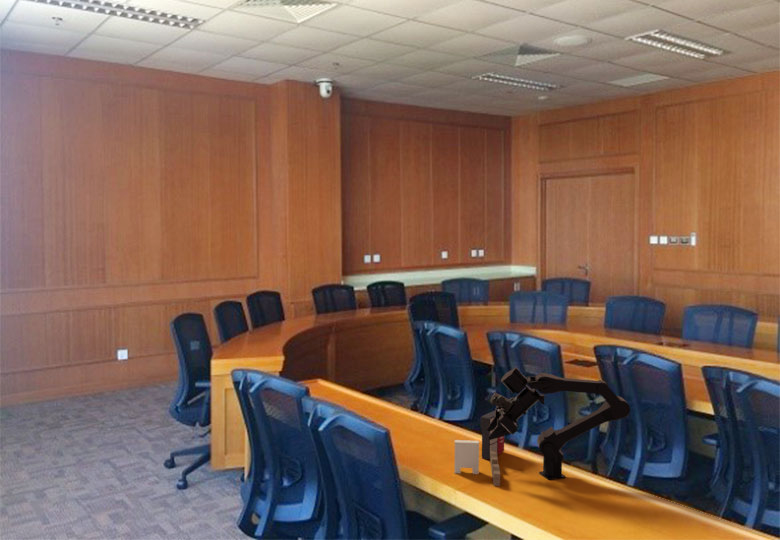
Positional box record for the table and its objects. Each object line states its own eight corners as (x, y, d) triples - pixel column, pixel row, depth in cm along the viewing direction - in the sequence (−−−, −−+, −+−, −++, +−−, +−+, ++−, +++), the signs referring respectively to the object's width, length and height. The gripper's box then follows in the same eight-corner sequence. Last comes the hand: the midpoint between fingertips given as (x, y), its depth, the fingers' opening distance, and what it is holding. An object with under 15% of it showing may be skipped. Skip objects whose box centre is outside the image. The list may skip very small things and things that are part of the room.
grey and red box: (490, 460, 234) (491, 418, 233) (480, 458, 237) (480, 416, 236) (505, 452, 243) (505, 411, 242) (494, 449, 245) (495, 410, 245)
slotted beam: (490, 461, 233) (490, 450, 232) (496, 462, 233) (496, 450, 232) (493, 485, 211) (493, 473, 211) (500, 486, 211) (500, 473, 210)
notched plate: (478, 471, 224) (478, 440, 223) (478, 474, 221) (479, 443, 220) (454, 470, 224) (454, 439, 224) (454, 473, 222) (454, 442, 221)
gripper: (503, 379, 229) (470, 409, 231) (507, 392, 210) (471, 425, 212) (526, 402, 229) (493, 432, 230) (532, 417, 210) (496, 450, 212)
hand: (488, 434), depth 221 cm, fingers open, 9 cm apart
